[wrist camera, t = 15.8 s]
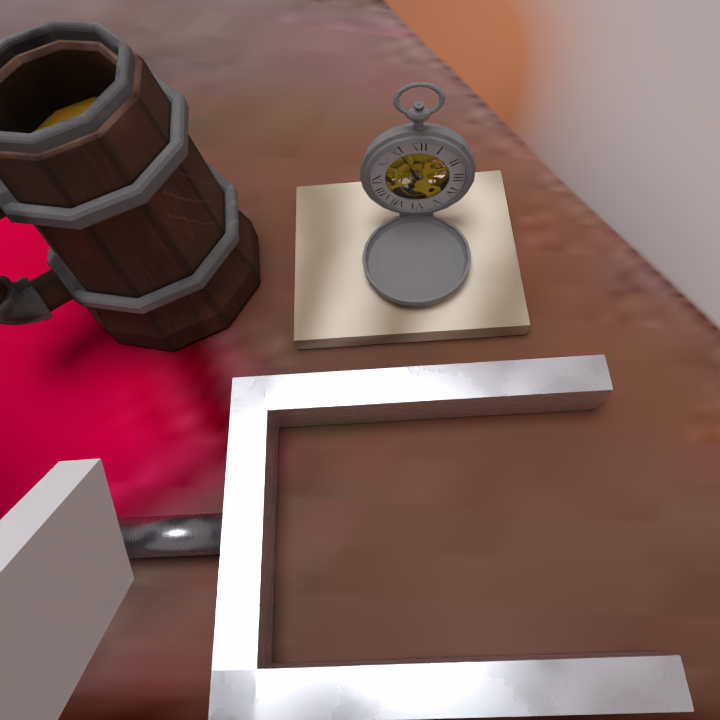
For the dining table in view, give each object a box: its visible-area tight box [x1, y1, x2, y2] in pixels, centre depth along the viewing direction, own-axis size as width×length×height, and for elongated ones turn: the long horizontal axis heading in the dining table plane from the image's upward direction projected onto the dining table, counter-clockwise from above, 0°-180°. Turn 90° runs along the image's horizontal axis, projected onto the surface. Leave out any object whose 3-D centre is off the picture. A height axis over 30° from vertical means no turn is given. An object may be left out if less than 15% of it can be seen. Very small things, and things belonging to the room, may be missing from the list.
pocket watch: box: [360, 82, 476, 306], centre depth 30 cm, size 8×8×10 cm
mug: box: [0, 21, 260, 351], centre depth 29 cm, size 16×12×15 cm
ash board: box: [294, 170, 530, 349], centre depth 35 cm, size 14×12×1 cm
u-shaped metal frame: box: [117, 355, 694, 720], centre depth 27 cm, size 26×16×3 cm, turn 92°
